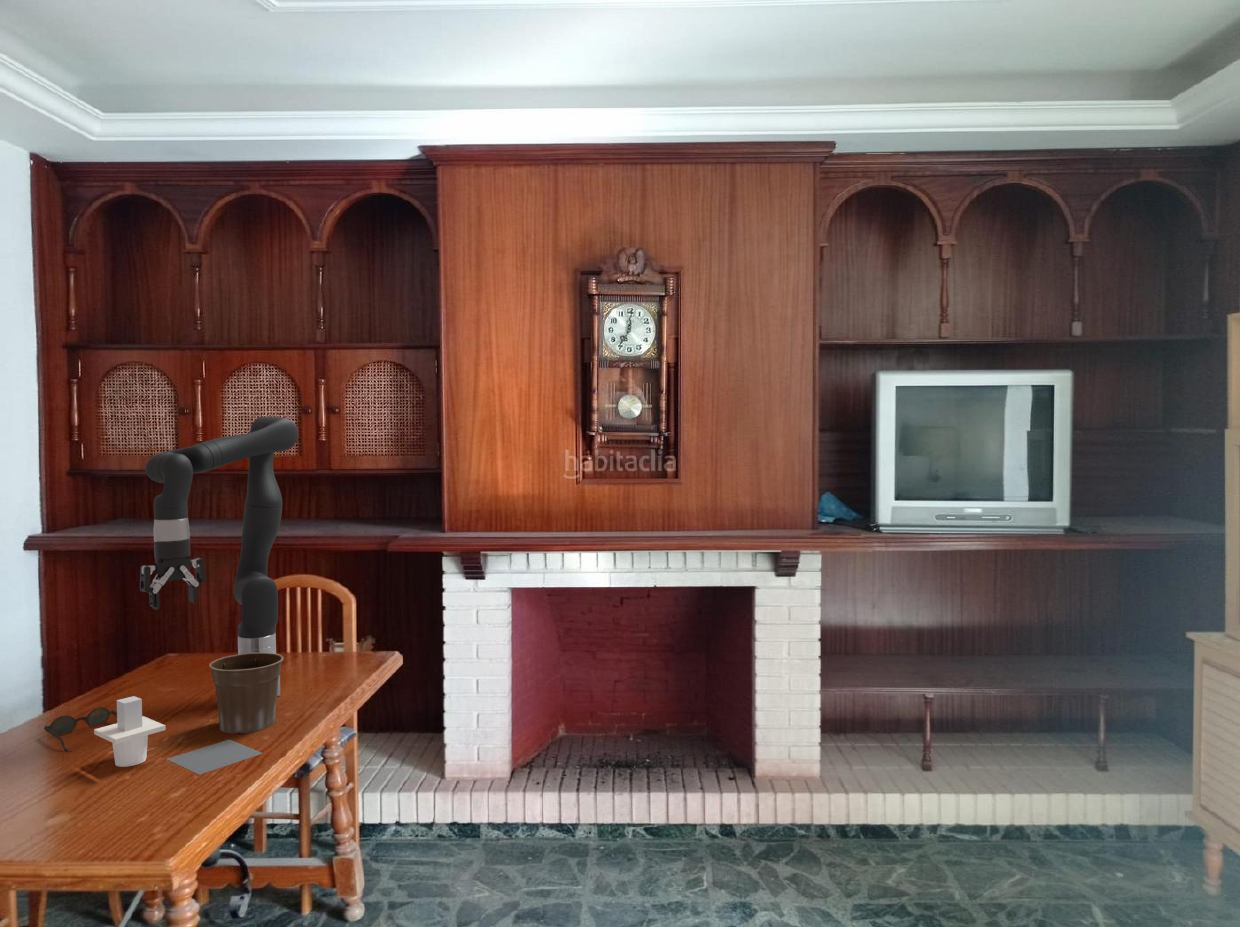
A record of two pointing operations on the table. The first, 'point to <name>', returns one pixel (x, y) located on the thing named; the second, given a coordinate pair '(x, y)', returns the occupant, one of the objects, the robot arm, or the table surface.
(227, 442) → the robot arm
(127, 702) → the lid
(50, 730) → the eyeglasses
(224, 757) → the mat
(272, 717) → the plant pot
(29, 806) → the table surface
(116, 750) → the shot glass
